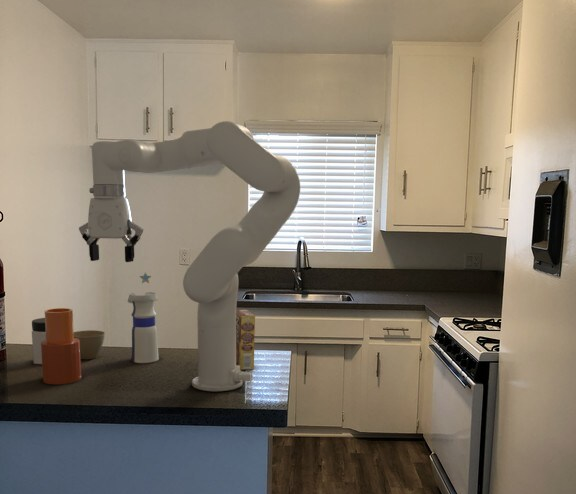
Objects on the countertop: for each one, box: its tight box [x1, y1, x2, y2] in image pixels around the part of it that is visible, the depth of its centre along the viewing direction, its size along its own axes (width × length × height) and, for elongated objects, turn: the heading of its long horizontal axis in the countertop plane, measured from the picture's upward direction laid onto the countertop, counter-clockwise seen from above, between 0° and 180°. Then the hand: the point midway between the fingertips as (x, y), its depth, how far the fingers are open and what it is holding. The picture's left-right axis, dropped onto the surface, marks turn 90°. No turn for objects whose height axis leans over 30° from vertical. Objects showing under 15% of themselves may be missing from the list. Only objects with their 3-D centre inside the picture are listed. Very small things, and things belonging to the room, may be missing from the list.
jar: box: [31, 317, 46, 366], centre depth 177 cm, size 9×8×12 cm
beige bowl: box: [73, 330, 106, 360], centre depth 183 cm, size 10×10×7 cm
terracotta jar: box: [41, 338, 82, 385], centre depth 160 cm, size 9×9×10 cm
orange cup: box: [44, 307, 75, 344], centre depth 159 cm, size 6×6×8 cm
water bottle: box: [127, 272, 160, 364], centre depth 179 cm, size 8×9×25 cm
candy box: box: [236, 309, 256, 371], centre depth 174 cm, size 9×4×15 cm, turn 16°
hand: (112, 261), depth 159 cm, fingers open, 9 cm apart
